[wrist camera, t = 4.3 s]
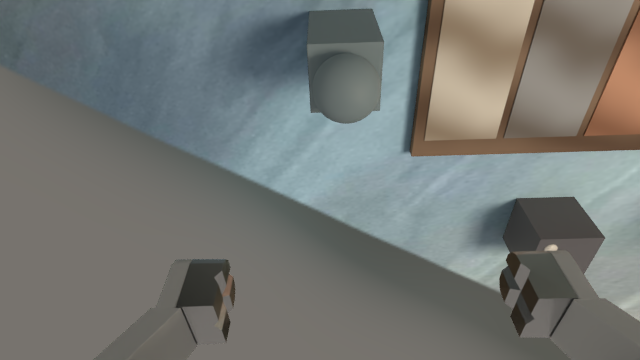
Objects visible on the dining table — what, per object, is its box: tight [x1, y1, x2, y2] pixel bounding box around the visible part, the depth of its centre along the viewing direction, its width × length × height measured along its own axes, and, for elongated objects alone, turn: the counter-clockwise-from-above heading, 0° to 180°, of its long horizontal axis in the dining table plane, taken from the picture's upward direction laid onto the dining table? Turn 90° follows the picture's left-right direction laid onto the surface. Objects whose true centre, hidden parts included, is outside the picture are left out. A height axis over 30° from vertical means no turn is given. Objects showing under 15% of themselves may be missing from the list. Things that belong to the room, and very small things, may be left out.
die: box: [503, 197, 605, 274], centre depth 35 cm, size 5×5×5 cm
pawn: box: [307, 9, 384, 123], centre depth 23 cm, size 4×4×9 cm
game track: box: [410, 0, 640, 156], centre depth 26 cm, size 18×25×1 cm
